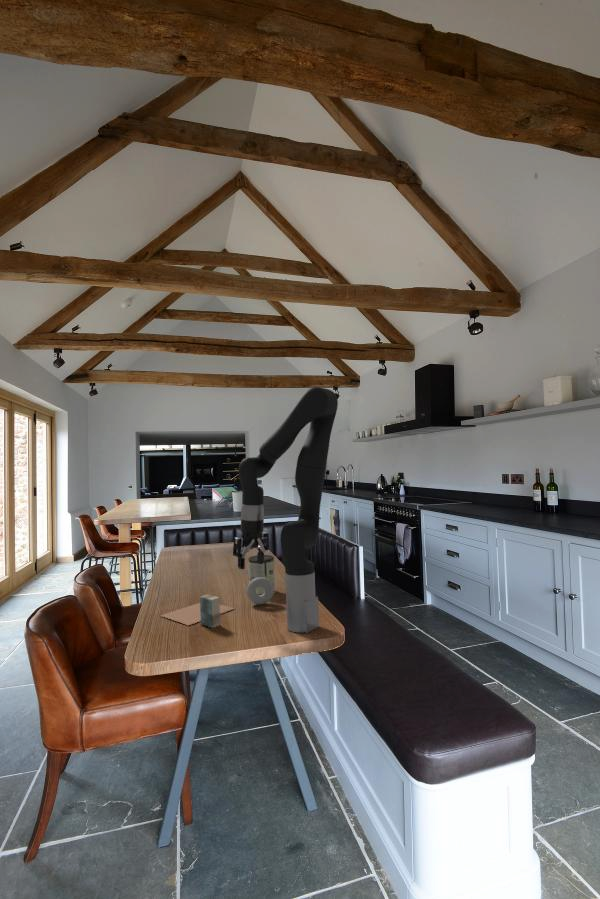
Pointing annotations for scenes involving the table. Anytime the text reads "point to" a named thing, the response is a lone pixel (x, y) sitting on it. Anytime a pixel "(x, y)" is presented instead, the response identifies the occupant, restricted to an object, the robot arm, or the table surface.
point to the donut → (264, 597)
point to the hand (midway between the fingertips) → (251, 566)
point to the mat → (191, 614)
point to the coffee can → (262, 571)
